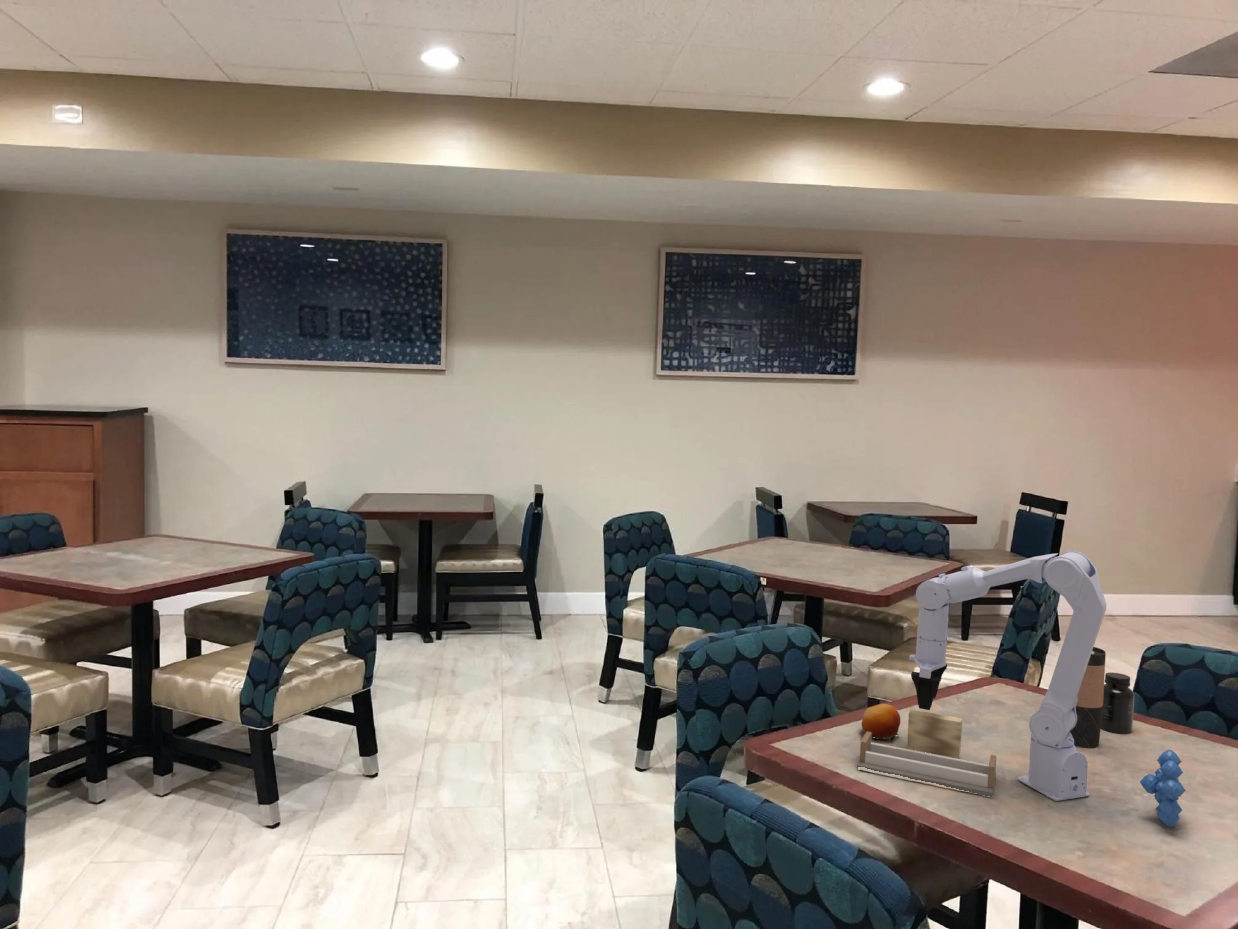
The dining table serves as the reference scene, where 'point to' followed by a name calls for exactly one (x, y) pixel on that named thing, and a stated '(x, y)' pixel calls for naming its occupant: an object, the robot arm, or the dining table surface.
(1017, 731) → the dining table surface
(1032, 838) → the dining table surface
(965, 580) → the robot arm
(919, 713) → the door panel
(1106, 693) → the supplement bottle
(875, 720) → the fruit
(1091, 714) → the travel mug
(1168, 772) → the grapes
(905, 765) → the track board
